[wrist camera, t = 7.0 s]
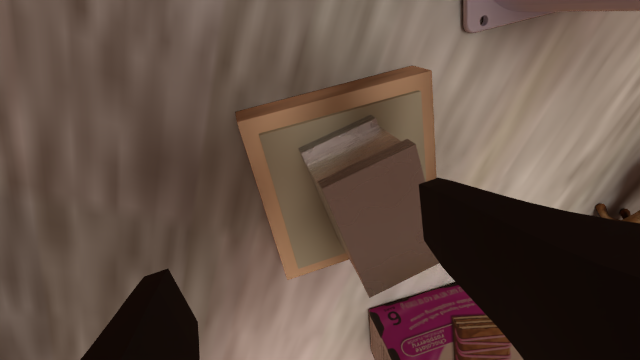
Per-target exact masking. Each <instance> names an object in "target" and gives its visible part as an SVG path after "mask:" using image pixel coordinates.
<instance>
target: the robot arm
mask: <svg viewBox="0 0 640 360" xmlns="http://www.w3.org/2000/svg"><path fill="white" fill-rule="evenodd" d="M562 11H640V0H463V25H464V29H465V31H467V32H469V33H475V32H479V31H483V30H487V29H491V28H495V27H499V26H503V25H507V24H511V23H515V22H519V21H523V20H527V19H530V18H534V17H538V16H542V15H546V14H550V13H554V12H562ZM482 16H483V19H484V20H483V23H482V24H481V25H480V18H481V17H482ZM419 195H420V205H421V216H422V227H423V237H424V241H425V243H426V244H427V246H428V247H429V249H430V250H431V252H432V253H433V254H434V256H435V257H436V259H437V260H438V261H439V263H440V264H441V266H442V267H443V268H444V269H445V270H446V272H447V273H448V274H449V275H450V276H451V277H452V278H453V279H454V280H455V282H456V283H457V284H458V285H459V286H460V287H461V288H462V289H463V290H464V291H465V293H466V294H467V295H468V296H469V297H470V298H471V299H472V300H473V301H474V302H475V303H476V304H477V306H478V307H479V308H480V309H481V310H482V311H483V312H484V313H485V314H486V315H487V316H488V317H489V319H490V320H491V321H492V322H493V323H494V324H495V325H496V326H497V327H498V328H499V330H500V331H501V332H502V333H503V334H504V335H505V337H506V338H507V339H508V340H509V341H510V343H511V344H512V345H513V346H514V348H515V349H516V350H517V352H518V353H519V354H520V356H521V357H522V358H523V360H640V223H634V222H627V221H620V220H613V219H607V218H602V217H596V216H590V215H584V214H578V213H573V212H568V211H563V210H559V209H554V208H550V207H546V206H542V205H537V204H533V203H529V202H525V201H521V200H517V199H514V198H510V197H506V196H503V195H499V194H496V193H492V192H489V191H485V190H482V189H478V188H475V187H471V186H468V185H464V184H461V183H457V182H454V181H450V180H446V179H441V178H436V179H433V180H430V181H427V182H424V183H421V184H419ZM199 359H200V357H199V336H198V322H197V320H196V318H195V316H194V314H193V313H192V311H191V309H190V307H189V305H188V304H187V302H186V300H185V298H184V296H183V295H182V293H181V291H180V289H179V287H178V286H177V284H176V282H175V280H174V278H173V277H172V275H171V273H170V271H169V269H165V270H163V271H160V272H157V273H154V274H151V275H148V276H145V277H144V278H143V279H142V280H141V281H140V283H139V284H138V285H137V286H136V288H135V289H134V290H133V291H132V293H131V294H130V295H129V297H128V298H127V299H126V301H125V302H124V303H123V305H122V306H121V308H120V309H119V310H118V312H117V313H116V314H115V316H114V317H113V318H112V320H111V321H110V322H109V324H108V325H107V326H106V327H105V329H104V330H103V331H102V333H101V334H100V335H99V337H98V338H97V339H96V341H95V342H94V343H93V345H92V346H91V347H90V348H89V350H88V351H87V352H86V353H85V355H84V356H83V357H82V358H81V360H199Z"/></svg>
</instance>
